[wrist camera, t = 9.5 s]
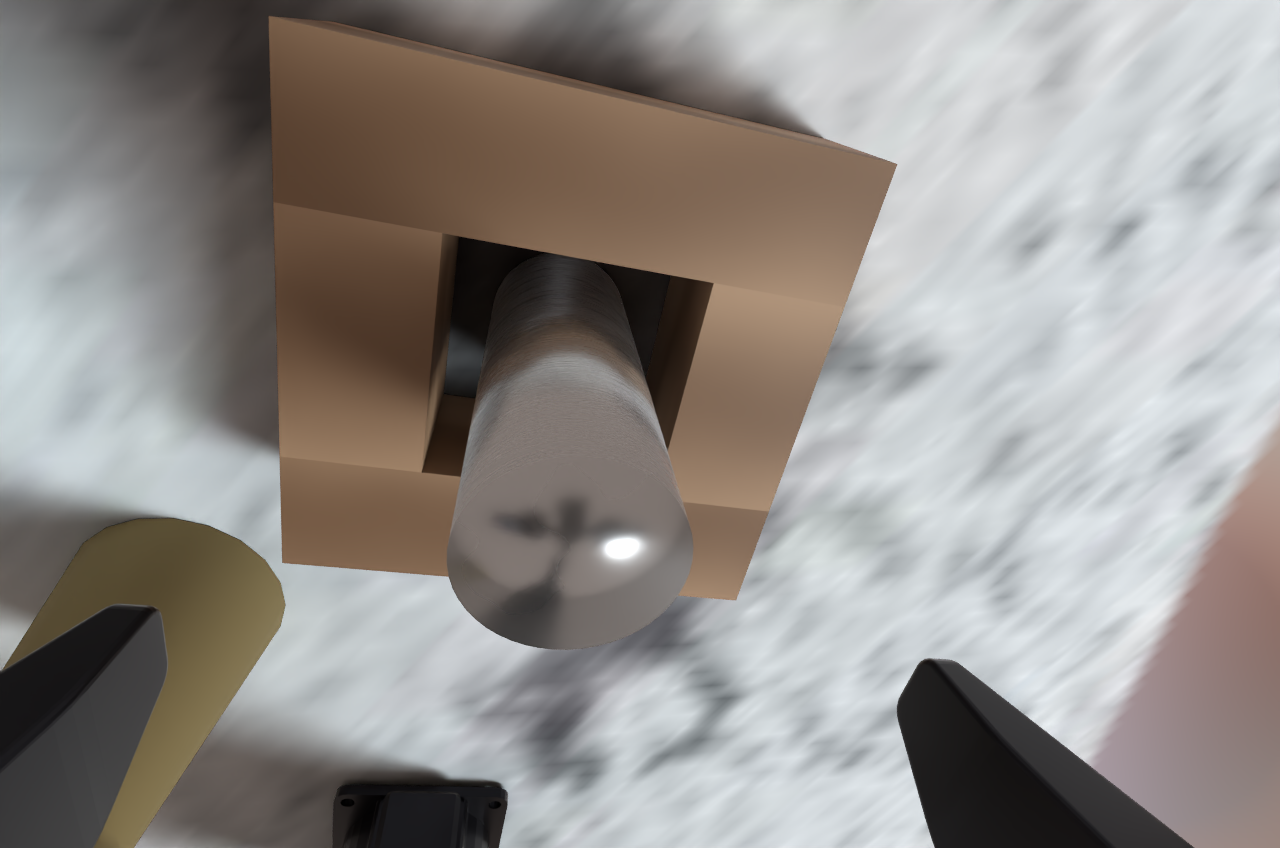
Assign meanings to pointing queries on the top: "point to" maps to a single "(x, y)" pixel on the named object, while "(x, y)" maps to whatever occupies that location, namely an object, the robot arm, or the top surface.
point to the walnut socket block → (549, 222)
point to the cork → (170, 639)
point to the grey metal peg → (565, 470)
